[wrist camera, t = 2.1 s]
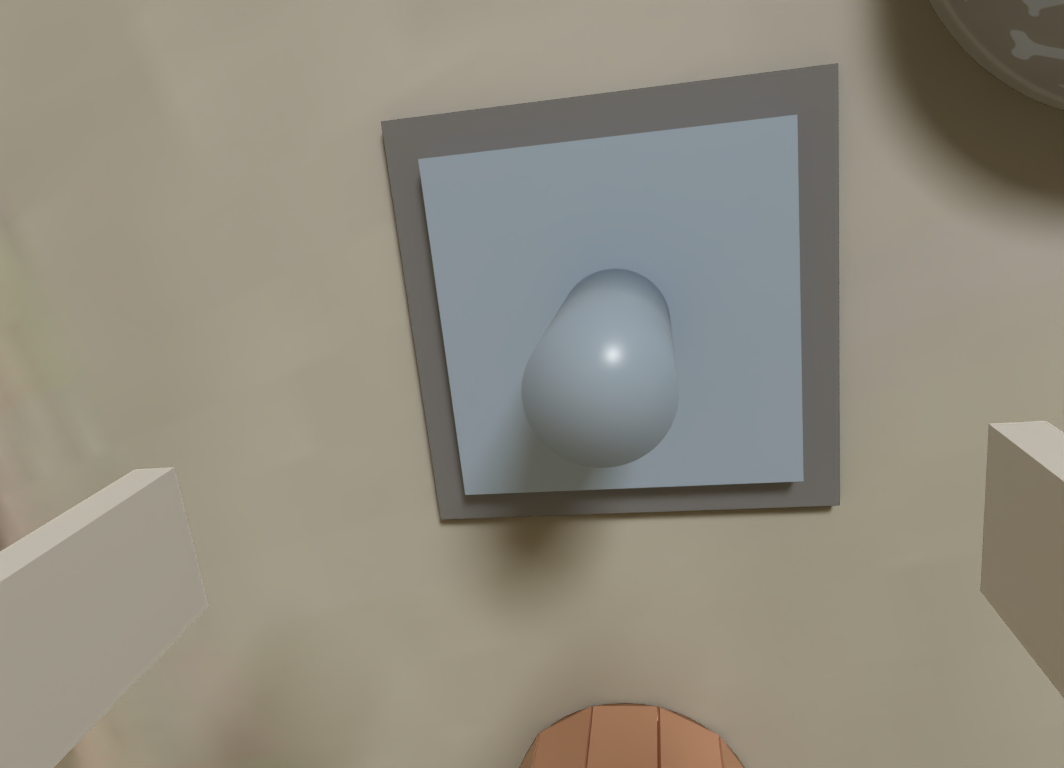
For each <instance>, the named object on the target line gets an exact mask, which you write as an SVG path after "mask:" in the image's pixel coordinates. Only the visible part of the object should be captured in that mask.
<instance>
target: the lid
mask: <svg viewBox="0 0 1064 768" xmlns="http://www.w3.org/2000/svg"><path fill="white" fill-rule="evenodd" d="M418 162H419V169H420V176H421V183H422V190H423V197H424V205H425V212H426V219H427V226H428V233H429V240H430V247H431V254H432V262H433V269H434V276H435V283H436V290H437V297H438V304H439V311H440V319H441V326H442V333H443V340H444V347H445V354H446V361H447V368H448V375H449V383H450V390H451V397H452V404H453V411H454V418H455V425H456V432H457V440H458V447H459V454H460V461H461V468H462V475H463V482H464V489H465V495H476V494H501V493H526V492H551V491H575V490H600V489H625V488H649V487H674V486H699V485H724V484H748V483H773V482H798V481H804V477H803V417H802V358H801V298H800V239H799V180H798V120H797V115H789V116H781V117H772V118H764V119H755V120H747V121H738V122H730V123H721V124H713V125H704V126H696V127H687V128H679V129H670V130H662V131H653V132H645V133H636V134H628V135H619V136H611V137H602V138H594V139H585V140H577V141H568V142H560V143H551V144H543V145H534V146H526V147H517V148H509V149H500V150H492V151H483V152H475V153H466V154H458V155H449V156H441V157H432V158H424V159H418Z"/></svg>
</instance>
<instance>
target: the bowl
mask: <svg viewBox="0 0 1064 768" xmlns="http://www.w3.org/2000/svg"><path fill="white" fill-rule="evenodd" d="M520 768H744V766H743V764H742V763H741V761H740V760H739V758H738V757H737V755H736V754H735V753H734V752H733V751H732V750H731V748H730V747H729V746H728V745H727V744H726V743H725V742H724V741H723V739H722V738H721V737H718V734H716V733H714V732H712V731H710V730H709V729H707V728H706V727H704V726H703V725H701V724H699V723H698V722H696V721H694V720H692V719H690V718H688V717H686V716H683V715H681V714H678V713H676V712H674V711H670V710H667V709H663V708H661V707H657V706H649V705H644V704H631V703H617V704H605V705H599V706H593V707H589V708H587V709H583V710H580V711H577V712H575V713H573V714H570V715H568V716H566V717H564V718H562V719H561V720H559V721H557V722H556V723H554V724H553V725H551V726H550V727H549V728H548V729H546V730H544V731H542V732H540V735H539V734H538V735H537V737H536V739H535V741H534V743H533V744H532V746H531V747H530V749H529V750H528V752H527V753H526V756H525V758H524V760H523V762H522V764H521V766H520Z"/></svg>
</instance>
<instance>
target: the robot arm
mask: <svg viewBox="0 0 1064 768" xmlns="http://www.w3.org/2000/svg"><path fill="white" fill-rule="evenodd" d="M980 591H981V592H982V594H983V595H984V596H985V597H986V599H987V600H988V601H989V603H990V604H991V605H992V606H993V608H994V609H995V610H996V612H997V613H998V614H999V615H1000V617H1001V618H1002V619H1003V621H1004V622H1005V623H1006V624H1007V626H1008V627H1009V628H1010V630H1011V631H1012V632H1013V633H1014V635H1015V636H1016V637H1017V639H1018V640H1019V641H1020V642H1021V644H1022V645H1023V646H1024V648H1025V649H1026V650H1027V651H1028V653H1029V654H1030V655H1031V657H1032V658H1033V659H1034V660H1035V662H1036V663H1037V664H1038V666H1039V667H1040V668H1041V669H1042V671H1043V672H1044V673H1045V675H1046V676H1047V677H1048V678H1049V680H1050V681H1051V682H1052V684H1053V685H1054V686H1055V687H1056V689H1057V690H1058V691H1059V693H1060V694H1061V695H1062V696H1063V698H1064V432H1062V431H1061V430H1059V429H1058V428H1056V427H1055V426H1053V425H1052V424H1050V423H1048V422H1047V421H1032V422H1014V423H995V424H989V430H988V450H987V469H986V489H985V509H984V528H983V548H982V568H981V587H980ZM208 608H209V606H208V602H207V598H206V594H205V590H204V586H203V581H202V577H201V573H200V569H199V565H198V561H197V557H196V553H195V549H194V545H193V541H192V537H191V533H190V529H189V525H188V521H187V517H186V512H185V508H184V504H183V500H182V496H181V492H180V488H179V484H178V480H177V476H176V472H175V468H174V467H172V468H153V469H135V470H133V471H131V472H130V473H128V474H126V475H125V476H123V477H122V478H120V479H118V480H117V481H115V482H113V483H112V484H110V485H108V486H107V487H105V488H104V489H102V490H100V491H99V492H97V493H95V494H94V495H92V496H90V497H89V498H87V499H86V500H84V501H82V502H81V503H79V504H77V505H76V506H74V507H72V508H71V509H69V510H68V511H66V512H64V513H63V514H61V515H59V516H58V517H56V518H55V519H53V520H51V521H50V522H48V523H46V524H45V525H43V526H41V527H40V528H38V529H37V530H35V531H33V532H32V533H30V534H28V535H27V536H25V537H23V538H22V539H20V540H19V541H17V542H15V543H14V544H12V545H10V546H9V547H7V548H5V549H4V550H2V551H1V552H0V768H54V766H55V765H56V764H57V763H58V762H59V761H60V760H61V759H62V758H63V757H64V756H65V755H66V754H67V753H68V752H69V751H70V750H71V749H72V748H73V747H74V746H75V745H76V744H77V743H78V742H79V741H80V740H81V739H82V738H83V737H84V736H85V734H86V733H87V732H88V731H89V730H90V729H91V728H92V727H93V726H94V725H95V724H96V723H97V722H98V721H99V720H100V719H101V718H102V717H103V716H104V715H105V714H106V713H107V712H108V711H109V710H110V709H111V708H112V707H113V706H114V705H115V704H116V702H117V701H118V700H119V699H120V698H121V697H122V696H123V695H124V694H125V693H126V692H127V691H128V690H129V689H130V688H131V687H132V686H133V685H134V684H135V683H136V682H137V681H138V680H139V679H140V678H141V677H142V676H143V675H144V674H145V673H146V672H147V670H148V669H149V668H150V667H151V666H152V665H153V664H154V663H155V662H156V661H157V660H158V659H159V658H160V657H161V656H162V655H163V654H164V653H165V652H166V651H167V650H168V649H169V648H170V647H171V646H172V645H173V644H174V643H175V642H176V641H177V640H178V638H179V637H180V636H181V635H182V634H183V633H184V632H185V631H186V630H187V629H188V628H189V627H190V626H191V625H192V624H193V623H194V622H195V621H196V620H197V619H198V618H199V617H200V616H201V615H202V614H203V613H204V612H205V611H206V610H207V609H208Z"/></svg>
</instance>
